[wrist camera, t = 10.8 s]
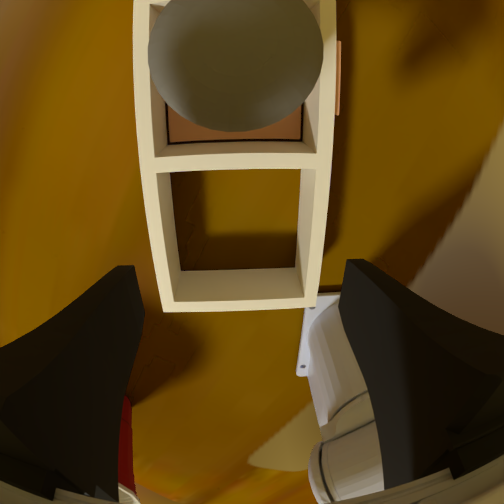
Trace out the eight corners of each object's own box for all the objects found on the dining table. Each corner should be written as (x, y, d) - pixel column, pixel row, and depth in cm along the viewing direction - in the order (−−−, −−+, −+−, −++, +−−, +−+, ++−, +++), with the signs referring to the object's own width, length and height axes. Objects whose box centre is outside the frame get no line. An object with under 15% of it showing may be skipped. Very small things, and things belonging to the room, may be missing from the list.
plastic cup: (125, 361, 27) (98, 477, 16) (167, 421, 32) (159, 514, 21) (44, 366, 27) (7, 457, 17) (92, 421, 32) (73, 501, 22)
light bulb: (292, 23, 14) (356, -35, 6) (281, 119, 17) (334, 156, 8) (185, 15, 14) (138, -52, 5) (177, 112, 17) (119, 143, 8)
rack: (310, 276, 23) (321, 306, 20) (171, 280, 22) (163, 312, 19) (318, -97, 10) (332, -121, 7) (158, -96, 9) (147, -121, 6)
